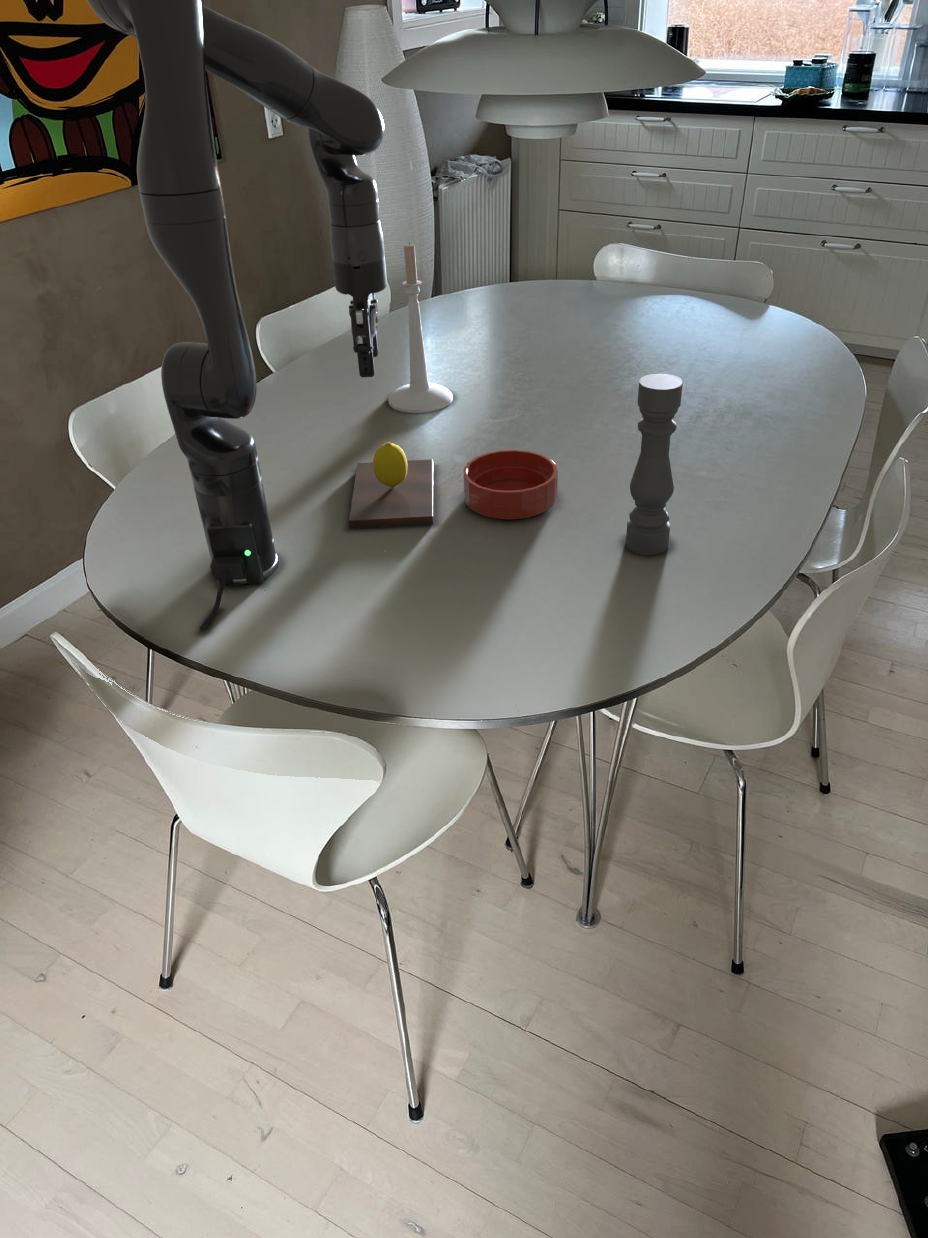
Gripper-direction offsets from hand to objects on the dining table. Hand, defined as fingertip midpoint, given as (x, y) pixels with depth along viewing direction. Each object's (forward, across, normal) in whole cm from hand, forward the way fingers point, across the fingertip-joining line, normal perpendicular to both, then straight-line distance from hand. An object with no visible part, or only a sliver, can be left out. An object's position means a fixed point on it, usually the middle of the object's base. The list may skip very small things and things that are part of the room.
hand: (369, 366), depth 141 cm
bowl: (+21, +4, +21) cm, 30 cm away
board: (+22, +2, +2) cm, 22 cm away
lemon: (+20, +1, +2) cm, 20 cm away
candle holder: (+22, +20, +40) cm, 50 cm away
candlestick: (+21, -38, +6) cm, 44 cm away
